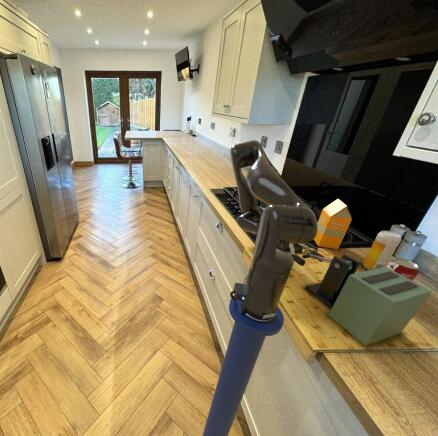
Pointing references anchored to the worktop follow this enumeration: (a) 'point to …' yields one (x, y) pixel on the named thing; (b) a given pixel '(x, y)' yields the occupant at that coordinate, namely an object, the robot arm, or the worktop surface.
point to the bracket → (333, 280)
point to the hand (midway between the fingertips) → (313, 261)
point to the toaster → (377, 304)
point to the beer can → (381, 250)
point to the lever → (324, 259)
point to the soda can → (404, 267)
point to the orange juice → (333, 225)
